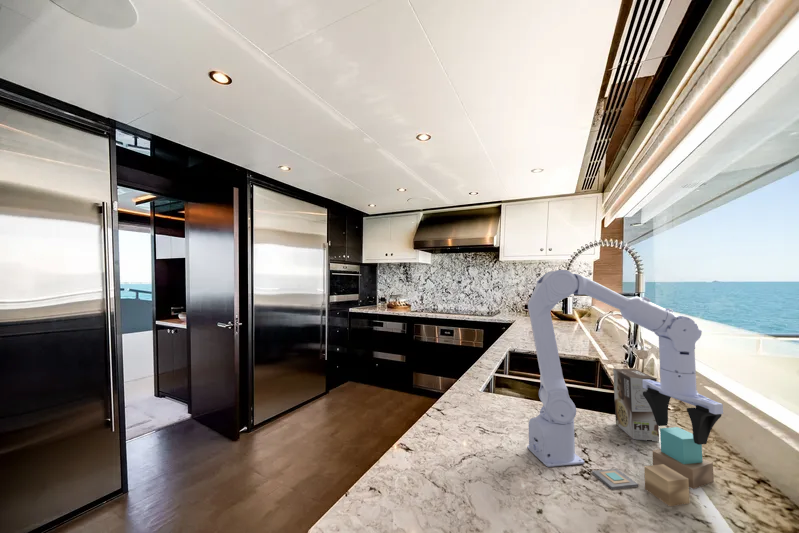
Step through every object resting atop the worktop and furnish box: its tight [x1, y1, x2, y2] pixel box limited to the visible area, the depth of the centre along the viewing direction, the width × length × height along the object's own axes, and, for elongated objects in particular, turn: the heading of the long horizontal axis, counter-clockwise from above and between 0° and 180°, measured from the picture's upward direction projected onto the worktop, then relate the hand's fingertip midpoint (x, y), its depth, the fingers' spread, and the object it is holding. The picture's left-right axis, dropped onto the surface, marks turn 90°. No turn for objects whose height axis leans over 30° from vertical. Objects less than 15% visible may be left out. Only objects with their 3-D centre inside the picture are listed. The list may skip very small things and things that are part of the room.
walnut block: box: [651, 447, 715, 490], centre depth 63 cm, size 7×7×4 cm
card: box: [591, 468, 639, 491], centre depth 61 cm, size 6×5×1 cm
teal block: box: [659, 426, 703, 464], centre depth 63 cm, size 5×5×5 cm
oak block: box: [643, 464, 691, 507], centre depth 57 cm, size 4×4×4 cm
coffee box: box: [612, 368, 660, 442], centre depth 81 cm, size 9×6×16 cm
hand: (680, 433), depth 63 cm, fingers open, 7 cm apart
